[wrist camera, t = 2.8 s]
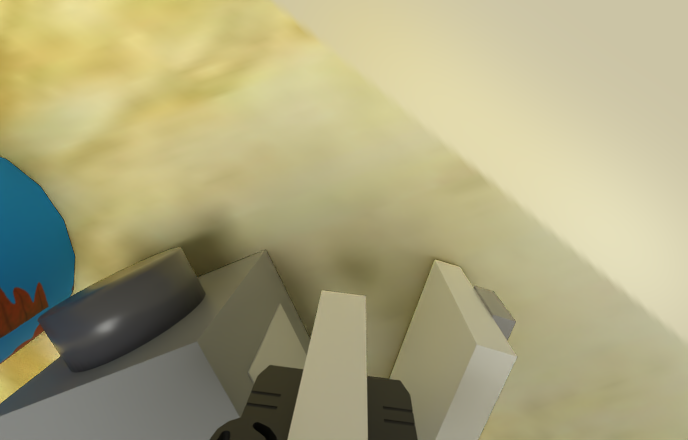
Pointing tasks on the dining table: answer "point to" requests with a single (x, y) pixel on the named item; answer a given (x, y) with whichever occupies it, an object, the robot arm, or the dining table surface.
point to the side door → (455, 356)
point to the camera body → (158, 353)
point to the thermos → (29, 259)
